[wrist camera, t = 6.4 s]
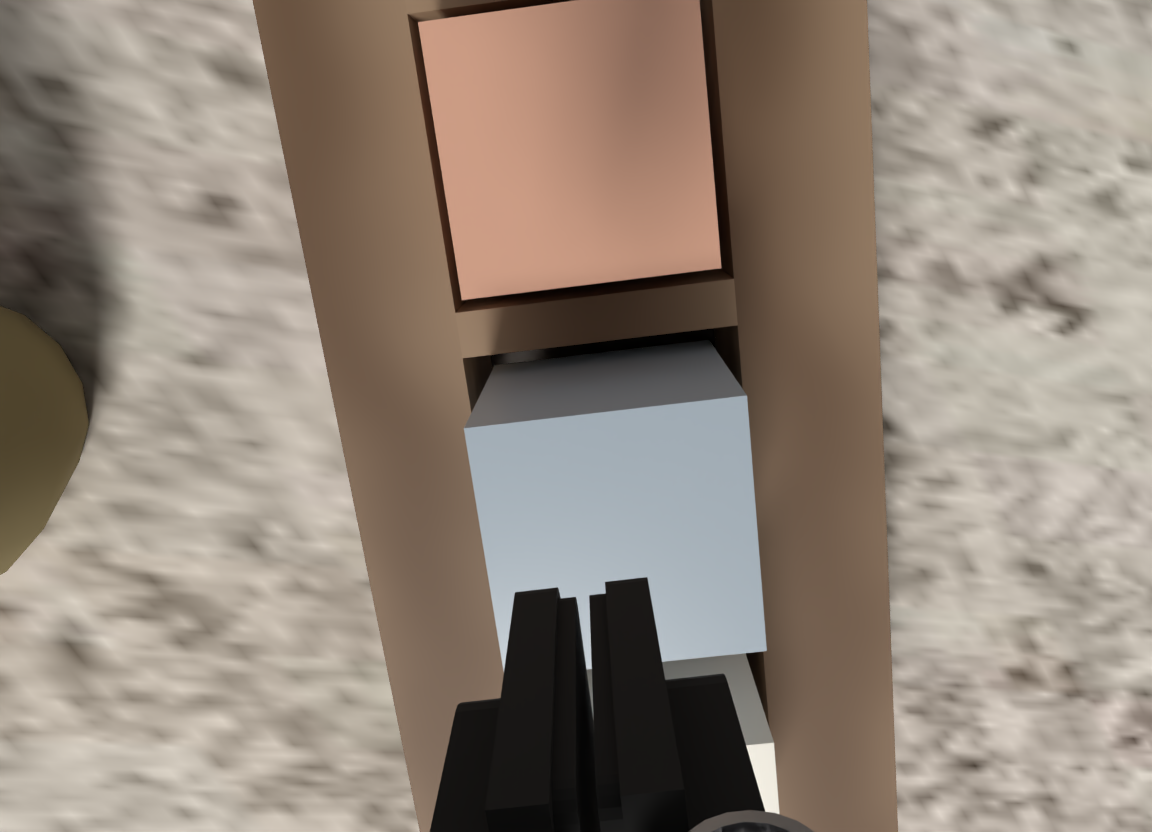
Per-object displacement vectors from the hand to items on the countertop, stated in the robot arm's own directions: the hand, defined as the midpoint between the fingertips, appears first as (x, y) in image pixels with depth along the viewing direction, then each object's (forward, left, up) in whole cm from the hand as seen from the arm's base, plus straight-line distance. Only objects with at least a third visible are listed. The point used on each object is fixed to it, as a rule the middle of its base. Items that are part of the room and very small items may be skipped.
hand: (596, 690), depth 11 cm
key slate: (0, 0, -11) cm, 11 cm away
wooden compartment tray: (0, 0, -14) cm, 14 cm away
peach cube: (0, -7, -13) cm, 14 cm away
